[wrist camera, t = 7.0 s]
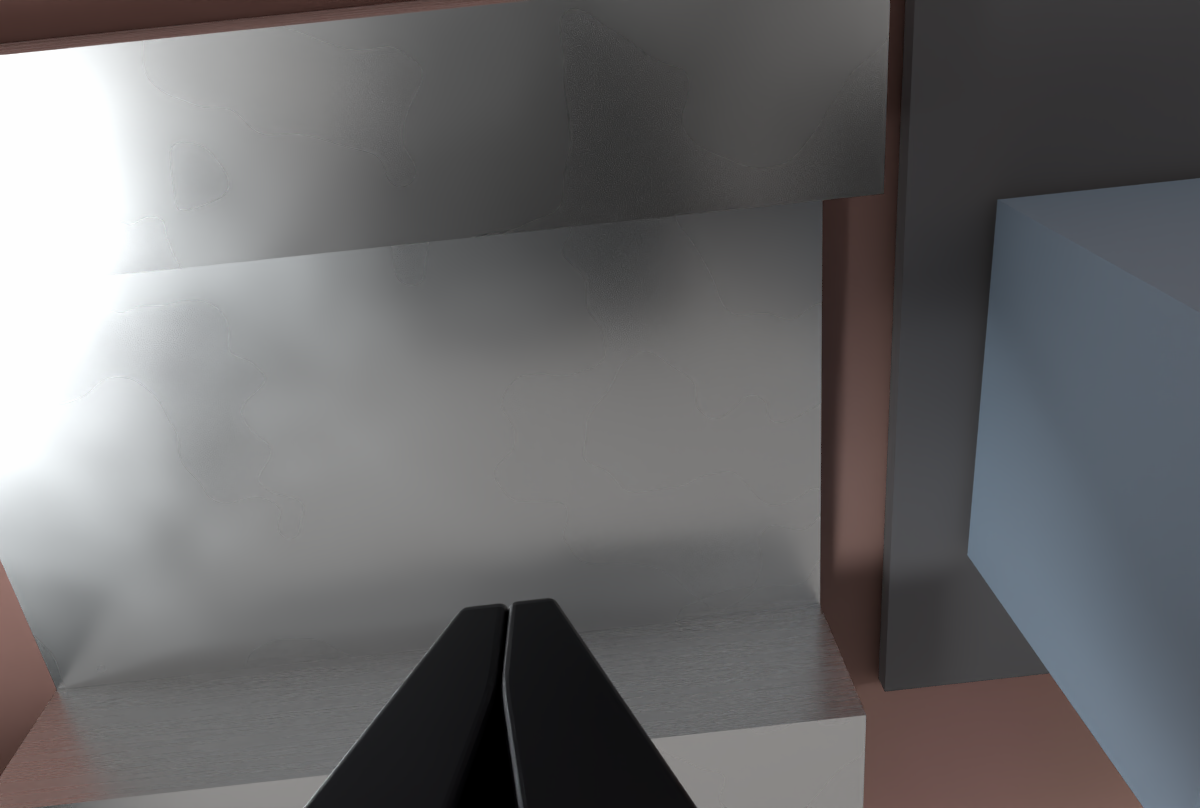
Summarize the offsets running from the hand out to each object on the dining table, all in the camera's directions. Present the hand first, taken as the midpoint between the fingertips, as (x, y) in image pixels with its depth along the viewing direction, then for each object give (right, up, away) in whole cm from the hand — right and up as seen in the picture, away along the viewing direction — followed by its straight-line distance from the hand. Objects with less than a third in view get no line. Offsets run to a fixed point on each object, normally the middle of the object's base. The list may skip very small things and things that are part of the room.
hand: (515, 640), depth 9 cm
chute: (-1, +2, +4) cm, 5 cm away
